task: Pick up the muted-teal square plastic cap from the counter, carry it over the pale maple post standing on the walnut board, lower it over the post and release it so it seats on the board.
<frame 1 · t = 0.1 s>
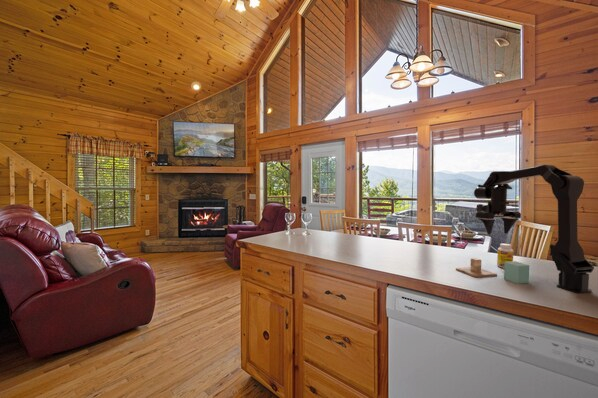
hand: (497, 233, 118), 15 cm above the worktop, fingers open, 9 cm apart
post fixture: (475, 272, 109), on the worktop
supplement bottle: (504, 267, 117), on the worktop
cap: (516, 280, 100), on the worktop
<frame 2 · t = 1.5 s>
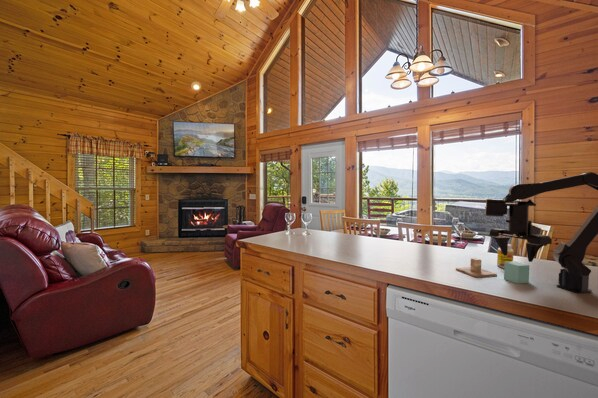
hand: (517, 258, 99), 9 cm above the worktop, fingers open, 9 cm apart
nothing on the worktop moved.
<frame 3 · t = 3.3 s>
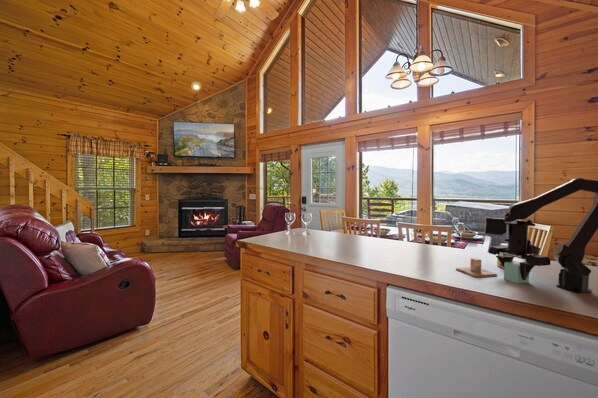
hand: (516, 277, 100), 1 cm above the worktop, fingers closed on cap, 5 cm apart
cap: (516, 280, 100), on the worktop, touching gripper
everything else where it was.
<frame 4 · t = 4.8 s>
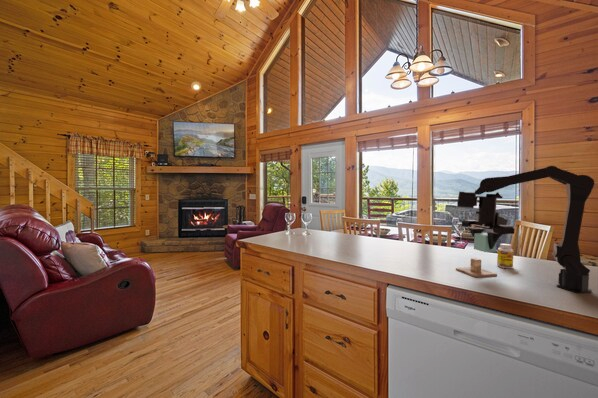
hand: (484, 247, 106), 11 cm above the worktop, fingers closed on cap, 5 cm apart
cap: (484, 250, 106), point 10 cm above the worktop, touching gripper
everything else where it was.
when the fingers open (3 cm above the worktop, at t = 6.8 s): cap drops 1 cm, resting on post fixture.
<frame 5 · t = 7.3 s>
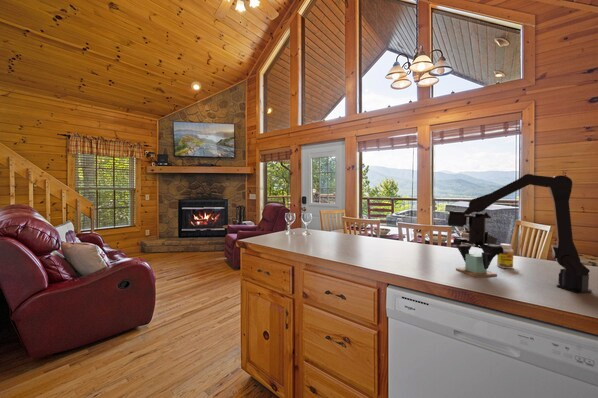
hand: (475, 265, 109), 3 cm above the worktop, fingers open, 9 cm apart
cap: (475, 270, 109), point 1 cm above the worktop, touching post fixture
everything else where it was.
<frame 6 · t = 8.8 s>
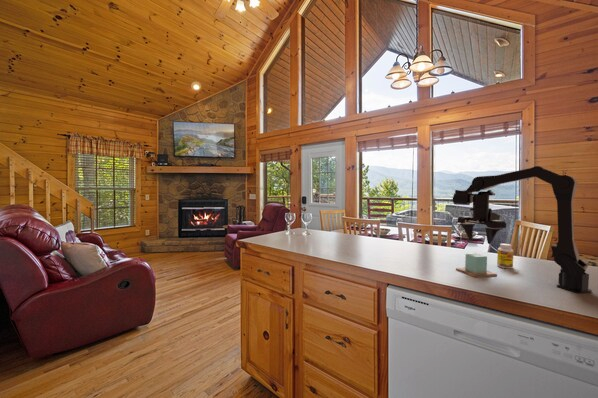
hand: (479, 241, 114), 12 cm above the worktop, fingers open, 9 cm apart
nothing on the worktop moved.
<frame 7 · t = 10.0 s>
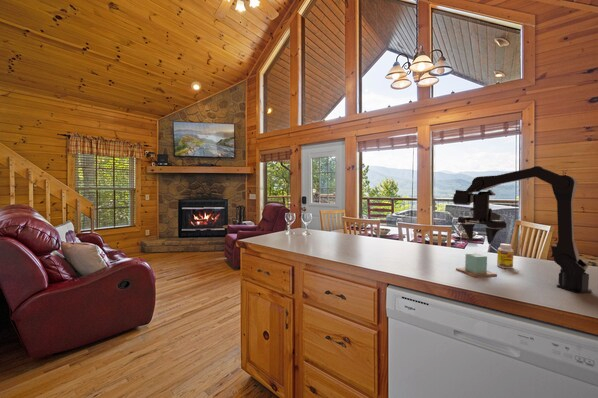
hand: (479, 241, 114), 12 cm above the worktop, fingers open, 9 cm apart
nothing on the worktop moved.
at the end: cap 0.0 cm from the post fixture (horizontally); cap point 0.8 cm above the worktop; cap tilted 0° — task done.
